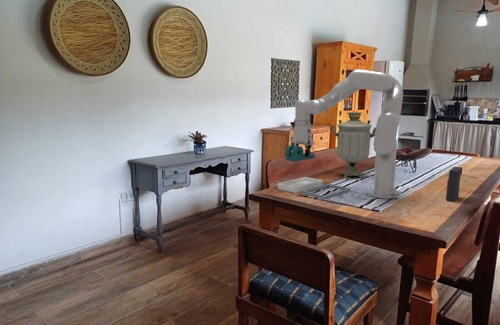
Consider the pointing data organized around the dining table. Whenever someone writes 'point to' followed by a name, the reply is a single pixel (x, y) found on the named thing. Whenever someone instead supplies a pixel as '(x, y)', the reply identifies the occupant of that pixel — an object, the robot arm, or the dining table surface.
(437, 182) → the dining table surface
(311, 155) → the bracket
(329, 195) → the grey rectangular frame
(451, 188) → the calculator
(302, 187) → the parts tray
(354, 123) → the samovar
